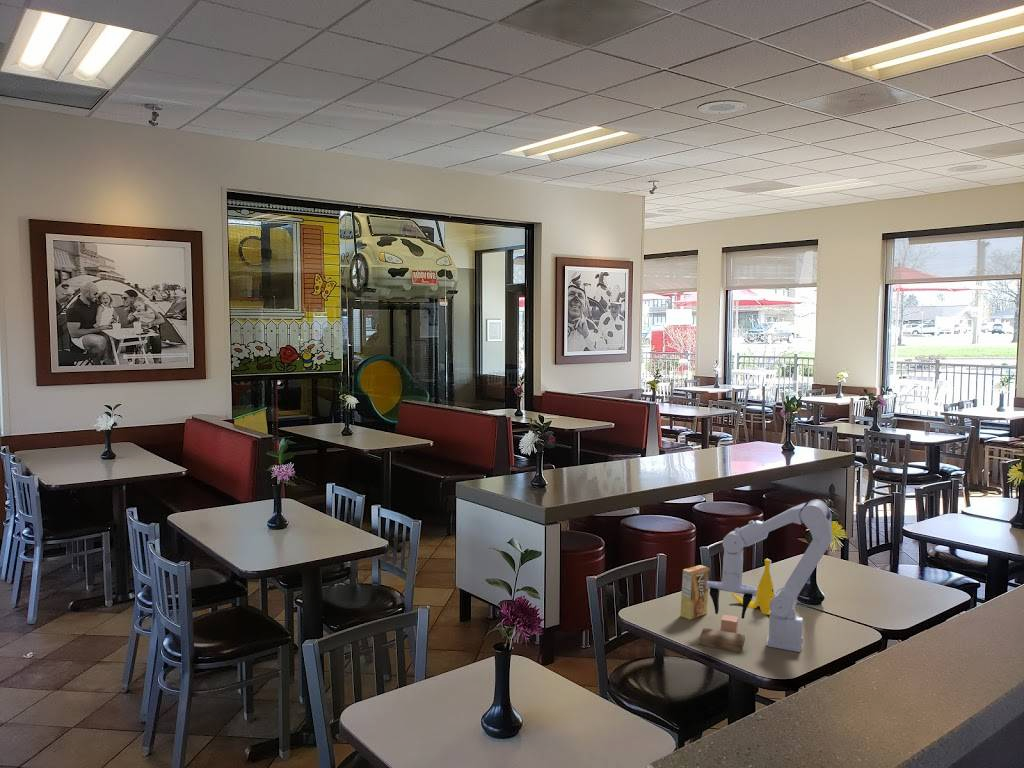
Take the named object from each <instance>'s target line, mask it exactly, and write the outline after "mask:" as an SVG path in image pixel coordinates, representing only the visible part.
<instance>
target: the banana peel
mask: <svg viewBox="0 0 1024 768" xmlns="http://www.w3.org/2000/svg"><path fill="white" fill-rule="evenodd" d="M763 561H764V570H763V573H762V576H761V577H760V579H759V583H758V586H757V588H756V589H757V595H756V597H755V600H754V601H751V602H750V603H749V605H748V607H747V609H752V610H753V609H756V608H758V607H759V609H760V612H761V614H763V615H766V616H768V615H769V616H770V607H769V604H770V601H771V600H772V598H774V596H775V589H774V585H773V584H774V583H773V579H772V576H771V573H770V566H771V560H770V559H769V558H766V559H764V560H763ZM731 596H733V598H734V599H736V601H738V602H739V603H740V604H741V605H743V598H741V597H740V596H738V595H736V594H735V593H734V592H731Z"/></svg>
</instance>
